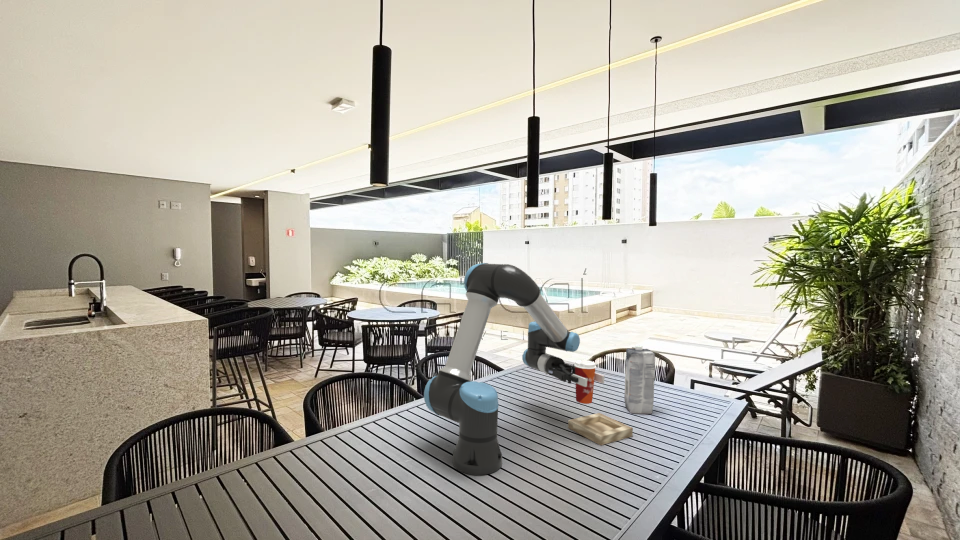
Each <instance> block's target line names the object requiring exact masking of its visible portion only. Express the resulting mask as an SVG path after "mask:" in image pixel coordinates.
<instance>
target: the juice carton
mask: <svg viewBox="0 0 960 540" xmlns="http://www.w3.org/2000/svg"><path fill="white" fill-rule="evenodd" d="M624 366H625V367H624V368H625V369H624V371H625V372H624V398H623V399H624V400H623V401H624V405H625V408H626V409H627V410H628V411H629V413H631V414H640V415H641V414H646V415H647V414H648V415H652V412H653V410H654V409H653V408H654V399H655V397H654V396H655V374H656V372H655V371H656V353H655V352H653V351H652V350H650V349H648V348H643V346H640V345H639V346H638V345H635V346H634V348H626V353H625V365H624Z"/></svg>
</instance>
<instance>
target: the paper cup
mask: <svg viewBox="0 0 960 540" xmlns="http://www.w3.org/2000/svg"><path fill="white" fill-rule="evenodd" d="M573 364H574V366H575V375H578V376H581V377H583V378H586V379H587V387H584V386H582V385H579V384H576V383H575V400H576V401H575V402H577V403H579V404H584V405H590V404H592V402H593V397H594V396H593V395H594V388H595V381H594V378H595V373H596V369H597V365H596V362H594V361H593V360H588V359H578V360H576V361H575V363H573Z"/></svg>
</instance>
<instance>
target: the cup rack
mask: <svg viewBox="0 0 960 540" xmlns="http://www.w3.org/2000/svg"><path fill="white" fill-rule="evenodd" d="M567 423H568V425H567V428H568V430H571V431H572V432H575V433H576V434H578V435H580V436H581V437H584V438H586V439H588V440H589V441H591V442H593V443H595V444H597V445H599V446H603V445H607V444H610V443H614V442H618V441H620V440H623V439H627V438H631V437H633V432H634V431H633V427H631V426H629V425H628V424H625V423H622V422H621V421H618V420H616V419H614V418H612V417H609V416H607V415H605V414H603V413H601V412H597V413H593V414H588V415H584V416H580V417H576V418H571V419H568V421H567Z"/></svg>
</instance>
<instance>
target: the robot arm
mask: <svg viewBox="0 0 960 540" xmlns="http://www.w3.org/2000/svg"><path fill="white" fill-rule="evenodd" d="M463 278H464V279H463V283H464V285H463V286H464V289H465V291H466V293H465V297H466V298H467V303H466V305H465V308H464V310H463V311H464V312H463V314H462V317H461V320H460V323H459V325H458V327H457V331H456V334H455V337H454V340H453V343H452V346H451V348H450V352H449V355H448V357H447V360H446V363H445V365H444V366H443V367H442V368H440V369H439V370H438V371H437V372H438V373H437V374H436V375H435V376H432V378H430V379H429V380H428V381H427V383H426V385H425V387H424V392H423V399H424V402H425V406H426V407H427V409H428V410H429V411H431V412H432V413H434V414H435V415H437V416H438V417H439V416H440V417H443V418H446V419H448V420H450V421H453V422H456V423H458V424H459V426H458V428H459V430H458V439H457V441H456V445H455V448H454V450H453V453H452V465H453V467H454V468H455V469H456V470H458V471H459V472H461V473H463V474H468V475H472V476H473V475H475V476H484V475H489V474H492V473H493V474H494V473H495V472H497V471H499V470H500V469H501V467H502V465H503V454H502V451H501V448H500V444H499V440H498V420H499V395H498V394H499V393H498V391H497V390H496V388H495V387H493V385H490V384H489V383H486V382H483V381H480V382H478V381H476V380H472V378H471V376H470V375H471V370H472V368H473V365H474V362H475V358H476V355H477V354H478V349H479V347H480V344H481V341H482V336H483V335H484V331H485V328H486V325H487V322H488V320H489V315H490V313H491V310H492V308H494V307H496V306H497V305H498V303H499V300H500V298H501V299H509V300H512V302H513V301H514V302H515V303H516V305H517V306H519V307H522V308H524V310H526V312H527V313H528V314H529V316H530V317H531V318H532V319H533V320H534V321H531V322H529V323H528V329H527V348H526V349H525V350H524V351H523V353H522V356H521V358H522V362H523V364H524V365H526V366H527V367H529V368H531V369H534V370H537V371H539V372H542V373H545V375H549V376H552V377H554V378H556V379H558V380H560V381H562V382H564V383H565V382H567V383H568V384H571V385H572V383H574V384H575V385H576V384H579V385H582V386H584V387H587V379H586V378H583V377H581V376H578V375H575V366H574V364H575V363H572V364H573V365H572V364H569V363H565V361H564V359H562V358H560V357H559V356H555V355H552V354H550V353H546V350H547V348H551V349H555V350H560V351H564V352H572V353H574V352H576V351H577V350H578V349H579V348H580V347H579V346H580V343H581V339H580V336H579V333H577V332H573V331H570V330H569V329H568V328H567V327H566V326H565V325H564V323H563V322H562V321H561V320H560V318H559V317H558V315H557V314H556V313H555V311H554V310H553V309H552V307H551V306H550V305H549V304H548V302H547V301H546V300H545V298H544V296H542V295H543V294H541V288H540V287H539V285H538V284H537V283H536V282H535V280H534V279H533V278H532V277H531V276H530V275H528V273H526V272H525V271H523V270H522V269H521V268H519V267H517V266H516V265H512V264H507V263H504V264H503V263H502V264H501V263H489V262H483V263H476V264H474V265H472V266H470V267H469V268H468V269H467V271H466V273H465V275H464V277H463ZM594 382H597V383H601V384H605V375H603V374H600V373H598V372H595V378H594Z"/></svg>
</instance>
